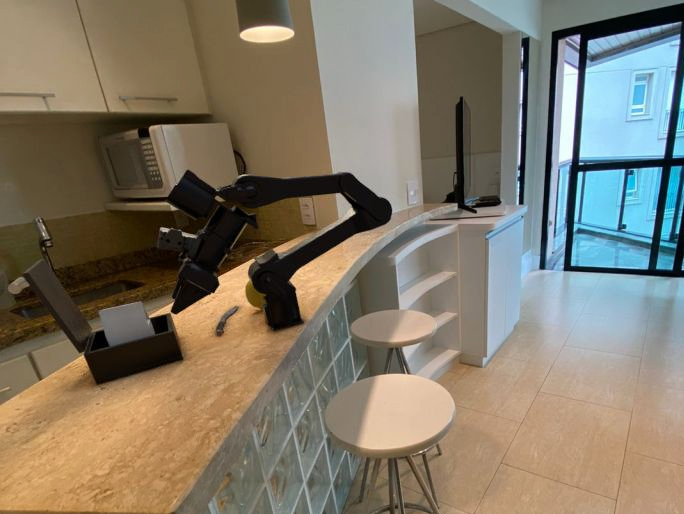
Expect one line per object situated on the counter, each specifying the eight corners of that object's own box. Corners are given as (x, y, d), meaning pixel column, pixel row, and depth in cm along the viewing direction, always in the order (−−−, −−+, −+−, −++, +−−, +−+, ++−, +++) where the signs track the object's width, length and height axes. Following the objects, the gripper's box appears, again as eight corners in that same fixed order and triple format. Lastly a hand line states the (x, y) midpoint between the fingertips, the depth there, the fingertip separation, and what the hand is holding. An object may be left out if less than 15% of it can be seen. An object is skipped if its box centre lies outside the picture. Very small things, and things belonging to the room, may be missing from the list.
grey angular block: (159, 354, 75) (140, 304, 71) (117, 365, 73) (96, 314, 69) (160, 347, 78) (142, 298, 74) (120, 357, 76) (100, 307, 72)
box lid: (43, 258, 69) (14, 268, 68) (27, 272, 60) (-8, 284, 58) (92, 328, 76) (66, 339, 74) (84, 351, 66) (54, 364, 65)
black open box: (179, 338, 84) (170, 312, 81) (183, 359, 74) (173, 331, 72) (102, 359, 78) (91, 331, 76) (96, 385, 68) (83, 355, 66)
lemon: (267, 313, 91) (259, 279, 88) (245, 314, 93) (237, 280, 89) (278, 304, 96) (271, 272, 93) (257, 305, 98) (249, 273, 94)
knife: (229, 329, 83) (213, 332, 82) (229, 333, 83) (214, 335, 82) (238, 304, 98) (225, 305, 97) (238, 306, 98) (225, 308, 98)
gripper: (177, 204, 78) (133, 272, 79) (175, 213, 63) (121, 298, 63) (230, 237, 84) (189, 300, 85) (240, 253, 68) (190, 330, 69)
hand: (173, 305), depth 75 cm, fingers open, 9 cm apart
